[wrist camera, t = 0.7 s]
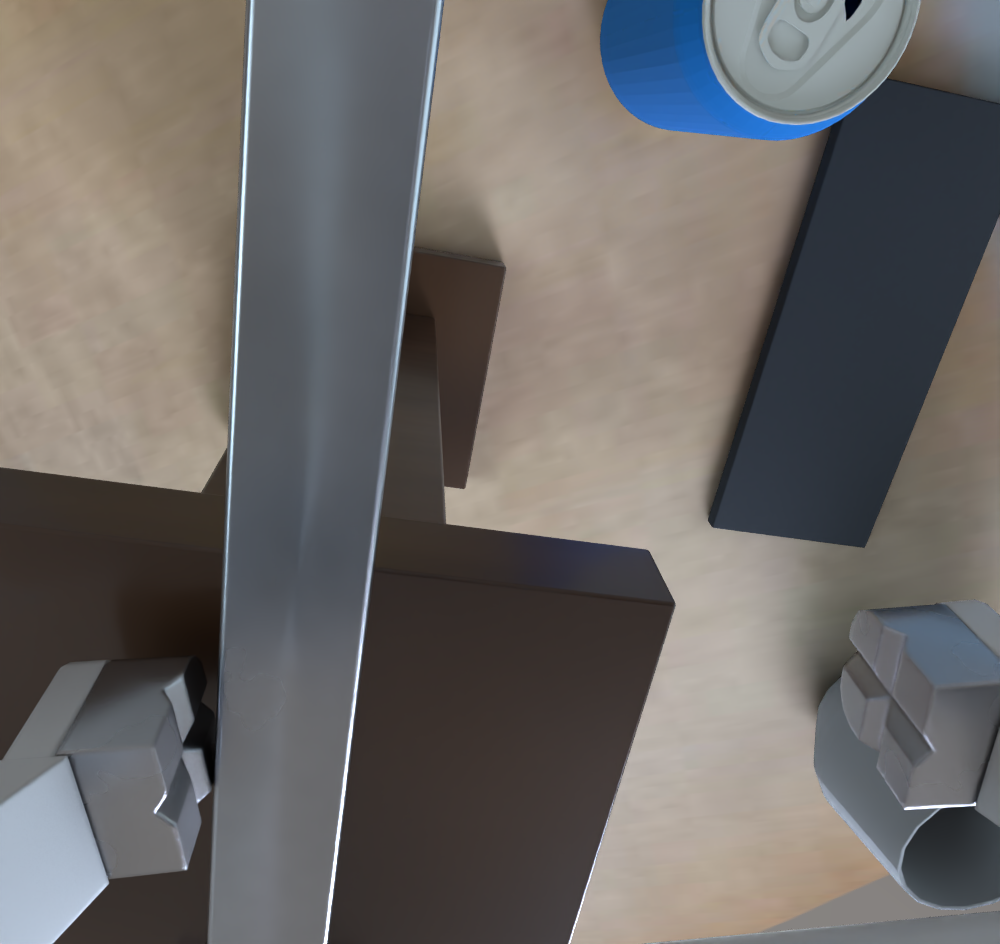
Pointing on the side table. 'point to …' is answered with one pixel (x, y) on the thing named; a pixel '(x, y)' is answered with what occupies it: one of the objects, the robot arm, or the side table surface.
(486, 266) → the stand
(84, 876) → the robot arm
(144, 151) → the side table surface
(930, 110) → the dark grey flat slab
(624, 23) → the beverage can
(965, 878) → the cup
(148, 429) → the side table surface
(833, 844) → the side table surface
